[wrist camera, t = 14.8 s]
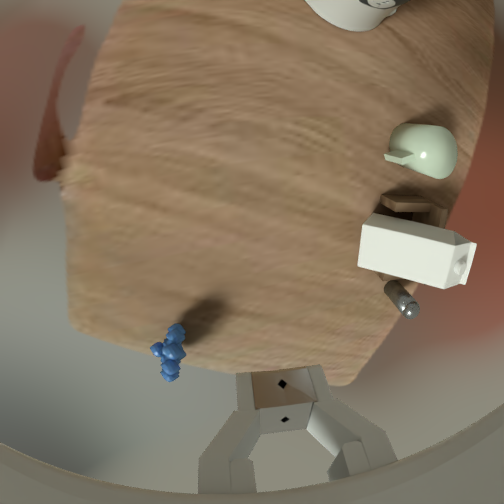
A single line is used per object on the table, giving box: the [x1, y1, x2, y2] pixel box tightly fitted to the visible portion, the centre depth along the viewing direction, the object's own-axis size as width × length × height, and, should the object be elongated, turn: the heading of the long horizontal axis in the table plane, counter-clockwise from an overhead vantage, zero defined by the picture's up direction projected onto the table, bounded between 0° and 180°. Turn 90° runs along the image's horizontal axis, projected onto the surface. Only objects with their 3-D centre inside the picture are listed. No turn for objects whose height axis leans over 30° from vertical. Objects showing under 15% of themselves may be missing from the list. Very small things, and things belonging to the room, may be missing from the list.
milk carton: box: [358, 213, 477, 289], centre depth 38 cm, size 7×7×19 cm
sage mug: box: [384, 123, 457, 179], centre depth 36 cm, size 8×11×9 cm
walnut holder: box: [373, 195, 448, 285], centre depth 43 cm, size 14×9×8 cm, turn 1°
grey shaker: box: [384, 280, 420, 319], centre depth 47 cm, size 4×4×10 cm
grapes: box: [150, 324, 186, 382], centre depth 46 cm, size 12×7×12 cm, turn 164°
